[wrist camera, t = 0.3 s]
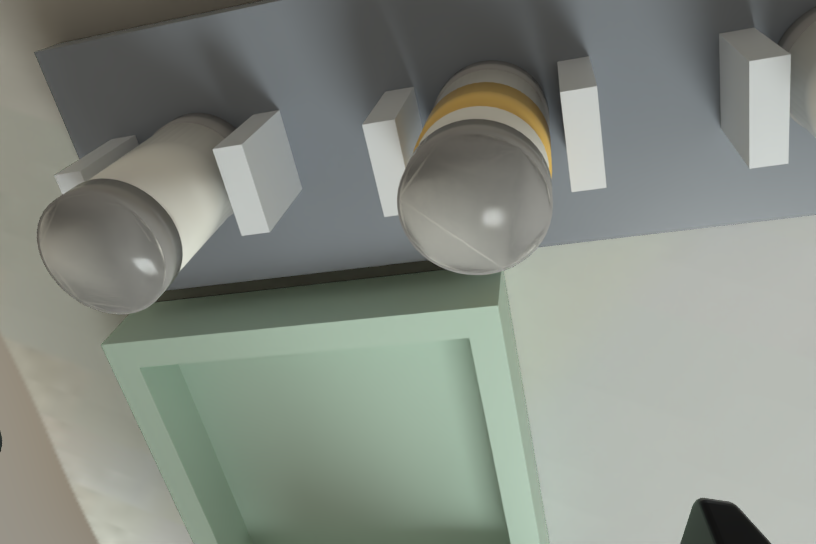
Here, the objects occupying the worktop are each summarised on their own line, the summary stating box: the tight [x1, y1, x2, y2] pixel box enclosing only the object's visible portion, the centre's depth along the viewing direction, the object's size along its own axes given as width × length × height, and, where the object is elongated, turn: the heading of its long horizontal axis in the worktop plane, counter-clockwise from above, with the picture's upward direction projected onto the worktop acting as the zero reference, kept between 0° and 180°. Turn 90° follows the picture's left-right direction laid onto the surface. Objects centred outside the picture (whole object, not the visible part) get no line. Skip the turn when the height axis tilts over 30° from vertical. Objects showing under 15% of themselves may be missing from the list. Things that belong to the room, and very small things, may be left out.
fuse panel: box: [34, 0, 816, 291], centre depth 19 cm, size 8×25×4 cm, turn 102°
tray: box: [101, 270, 549, 544], centre depth 26 cm, size 13×13×3 cm
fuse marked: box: [397, 60, 553, 275], centre depth 17 cm, size 3×3×6 cm
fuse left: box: [37, 113, 236, 314], centre depth 19 cm, size 3×3×6 cm
